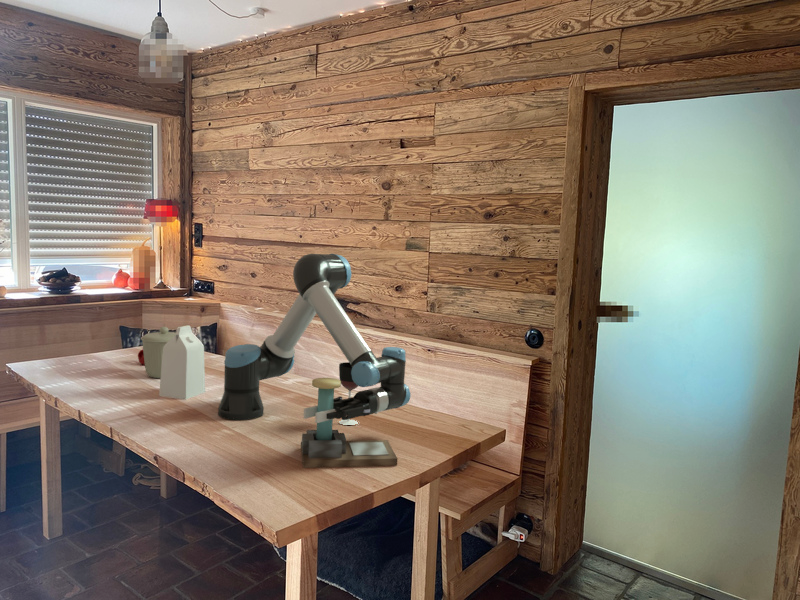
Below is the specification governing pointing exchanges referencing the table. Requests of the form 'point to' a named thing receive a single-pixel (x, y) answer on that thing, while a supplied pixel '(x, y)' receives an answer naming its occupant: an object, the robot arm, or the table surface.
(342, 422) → the wineglass
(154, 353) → the canister
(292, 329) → the robot arm
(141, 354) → the pomegranate
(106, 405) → the table surface
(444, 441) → the table surface
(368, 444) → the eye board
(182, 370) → the milk
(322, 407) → the disc-capped post
